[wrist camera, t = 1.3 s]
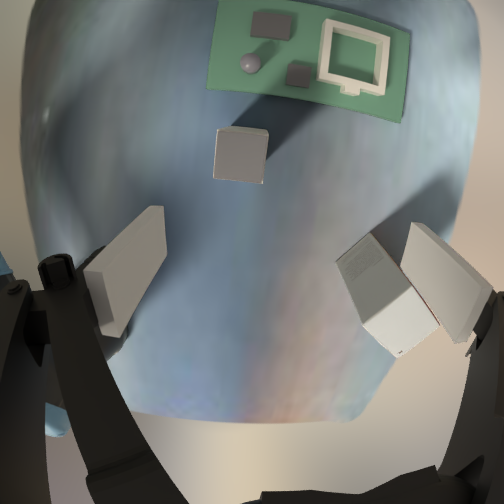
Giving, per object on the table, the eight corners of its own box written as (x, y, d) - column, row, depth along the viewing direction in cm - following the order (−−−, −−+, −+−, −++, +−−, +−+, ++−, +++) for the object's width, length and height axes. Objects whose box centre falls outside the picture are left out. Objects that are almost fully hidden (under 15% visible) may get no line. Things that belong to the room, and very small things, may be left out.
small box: (399, 267, 37) (441, 326, 25) (366, 295, 39) (396, 360, 28) (369, 229, 35) (413, 285, 23) (333, 261, 37) (360, 327, 25)
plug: (226, 159, 32) (212, 179, 22) (230, 125, 30) (216, 129, 21) (262, 163, 32) (262, 184, 22) (266, 129, 30) (269, 135, 21)
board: (207, 89, 28) (201, 86, 25) (221, -2, 23) (216, -13, 19) (396, 122, 29) (409, 124, 25) (405, 35, 23) (419, 29, 20)
